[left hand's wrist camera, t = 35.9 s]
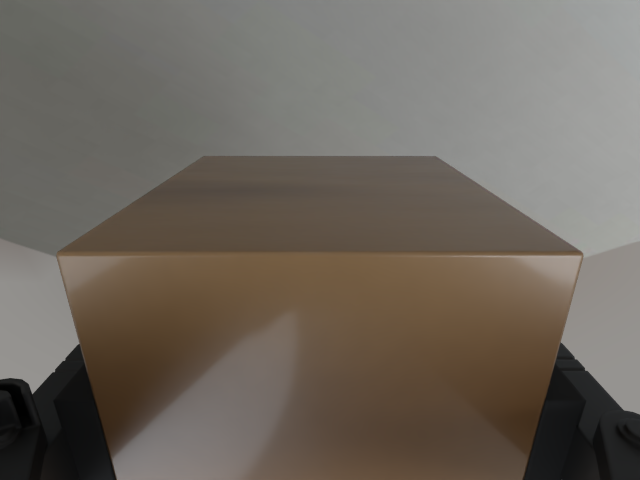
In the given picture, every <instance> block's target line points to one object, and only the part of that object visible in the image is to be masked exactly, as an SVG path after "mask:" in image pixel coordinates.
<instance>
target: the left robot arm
mask: <svg viewBox="0 0 640 480" xmlns="http://www.w3.org/2000/svg"><path fill="white" fill-rule="evenodd" d="M0 480H116V478H115V475H114V471H113V467H112V463H111V460H110V456H109V452H108V448H107V445H106V441H105V437H104V433H103V430H102V426H101V422H100V418H99V415H98V411H97V407H96V403H95V400H94V396H93V392H92V388H91V385H90V381H89V377H88V373H87V370H86V366H85V362H84V358H83V355H82V351H81V347H80V344H79V345H77V346H76V348H75V349H74V350H73V351H72V352H71V353H70V354H69V355H68V356H67V357H66V360H65V361H63V362H62V363H61V364H60V365H59V366H58V367H57V368H56V369H55V372H53V373H52V374H51V375H50V376H49V377H48V378H47V379H46V380H45V381H44V382H43V384H42V385H41V386H40V387H39V388H38V389H37V390H36V391H35V392H34V393H33V394H32V393H31V390H30V387H29V384H28V383H26V382H25V381H23V380H22V379H13V378H9V379H2V380H0ZM524 480H640V415H639V414H637V413H634V412H630V411H624V410H623V409H622V408H621V407H620V406H619V405H618V404H617V403H616V401H615V400H614V399H613V398H612V397H611V396H610V395H609V394H608V393H607V392H606V391H605V390H604V388H603V387H602V386H601V385H600V384H599V383H598V382H597V381H596V380H595V379H594V378H593V376H592V375H591V374H590V373H589V372H588V371H585V368H584V367H583V366H582V365H581V363H580V362H579V361H578V360H575V358H574V356H573V355H572V354H571V353H570V351H569V350H568V349H567V348H566V347H565V346H564V345H563V344H562V343H561V342H560V346H559V350H558V353H557V357H556V361H555V365H554V368H553V372H552V376H551V380H550V383H549V387H548V391H547V395H546V398H545V402H544V406H543V409H542V413H541V417H540V421H539V424H538V428H537V432H536V436H535V439H534V443H533V447H532V451H531V454H530V458H529V462H528V466H527V469H526V473H525V477H524Z"/></svg>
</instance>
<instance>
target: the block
mask: <svg viewBox="0 0 640 480" xmlns="http://www.w3.org/2000/svg"><path fill="white" fill-rule="evenodd" d="M56 257H57V261H58V264H59V268H60V272H61V275H62V279H63V283H64V287H65V291H66V294H67V298H68V302H69V306H70V309H71V313H72V317H73V321H74V324H75V328H76V332H77V336H78V339H79V343H80V347H81V351H82V355H83V358H84V362H85V366H86V370H87V373H88V377H89V381H90V385H91V388H92V392H93V396H94V400H95V403H96V407H97V411H98V415H99V418H100V422H101V426H102V430H103V433H104V437H105V441H106V445H107V448H108V452H109V456H110V460H111V463H112V467H113V471H114V475H115V478H116V480H524V477H525V473H526V469H527V466H528V462H529V458H530V454H531V451H532V447H533V443H534V439H535V436H536V432H537V428H538V424H539V421H540V417H541V413H542V409H543V406H544V402H545V398H546V395H547V391H548V387H549V383H550V380H551V376H552V372H553V368H554V365H555V361H556V357H557V353H558V350H559V346H560V342H561V338H562V335H563V331H564V327H565V323H566V320H567V316H568V312H569V308H570V305H571V301H572V297H573V293H574V290H575V286H576V282H577V279H578V275H579V271H580V267H581V264H582V260H583V253H582V252H581V251H580V250H578V249H577V248H575V247H574V246H572V245H571V244H569V243H568V242H566V241H565V240H563V239H562V238H560V237H559V236H557V235H555V234H554V233H552V232H551V231H549V230H548V229H546V228H545V227H543V226H542V225H540V224H539V223H537V222H536V221H534V220H533V219H531V218H529V217H528V216H526V215H525V214H523V213H522V212H520V211H519V210H517V209H516V208H514V207H513V206H511V205H510V204H508V203H507V202H505V201H504V200H502V199H500V198H499V197H497V196H496V195H494V194H493V193H491V192H490V191H488V190H487V189H485V188H484V187H482V186H481V185H479V184H478V183H476V182H475V181H473V180H471V179H470V178H468V177H467V176H465V175H464V174H462V173H461V172H459V171H458V170H456V169H455V168H453V167H452V166H450V165H449V164H447V163H446V162H444V161H442V160H441V159H439V158H438V157H436V156H203V157H202V158H200V159H199V160H197V161H196V162H194V163H192V164H191V165H189V166H188V167H186V168H185V169H183V170H182V171H180V172H179V173H177V174H176V175H174V176H173V177H171V178H170V179H168V180H167V181H165V182H163V183H162V184H160V185H159V186H157V187H156V188H154V189H153V190H151V191H150V192H148V193H147V194H145V195H144V196H142V197H141V198H139V199H137V200H136V201H134V202H133V203H131V204H130V205H128V206H127V207H125V208H124V209H122V210H121V211H119V212H118V213H116V214H115V215H113V216H112V217H110V218H108V219H107V220H105V221H104V222H102V223H101V224H99V225H98V226H96V227H95V228H93V229H92V230H90V231H89V232H87V233H86V234H84V235H83V236H81V237H79V238H78V239H76V240H75V241H73V242H72V243H70V244H69V245H67V246H66V247H64V248H63V249H61V250H60V251H58V252H57V255H56Z"/></svg>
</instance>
